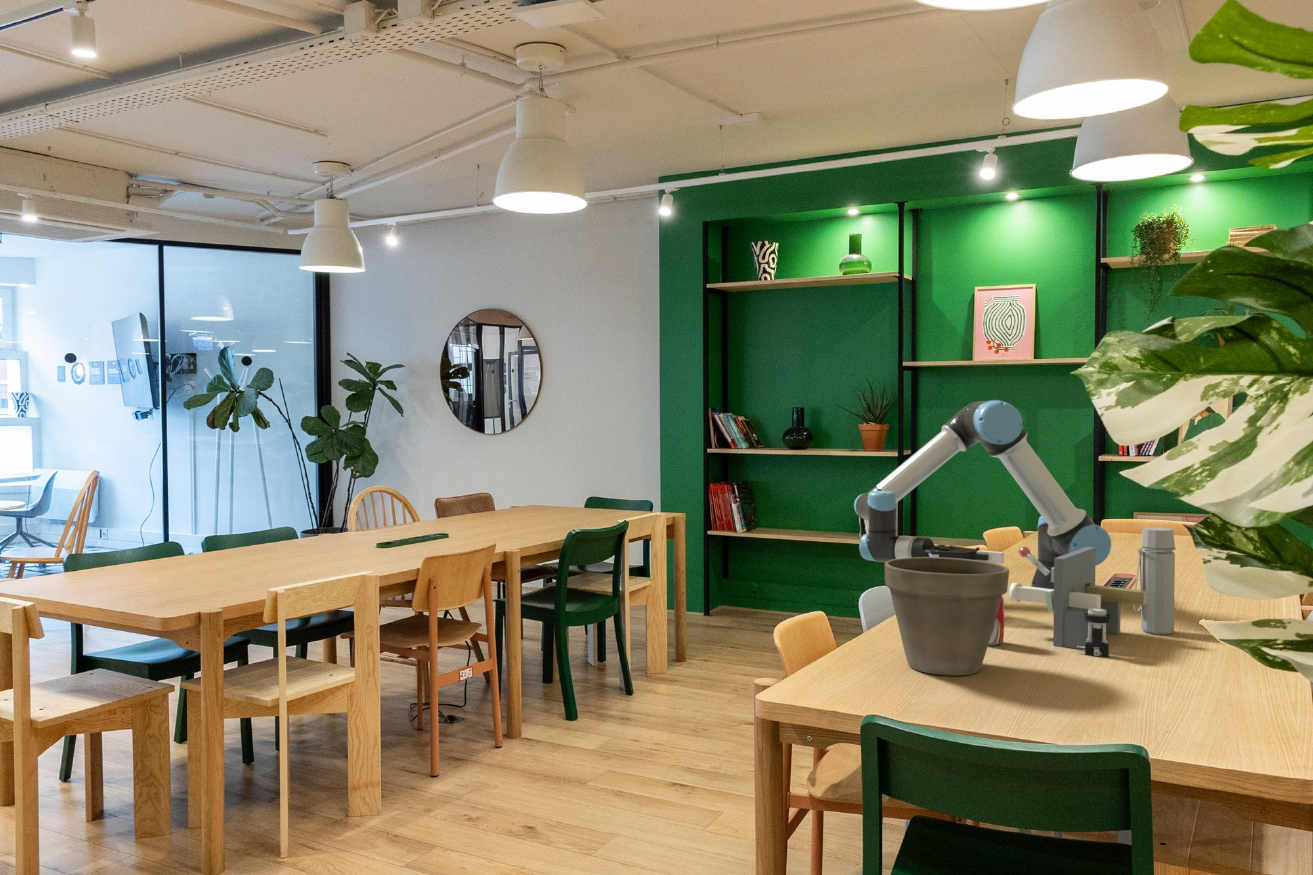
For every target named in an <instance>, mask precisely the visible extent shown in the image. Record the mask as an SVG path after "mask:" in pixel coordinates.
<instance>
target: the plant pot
mask: <svg viewBox="0 0 1313 875" xmlns="http://www.w3.org/2000/svg"><path fill="white" fill-rule="evenodd" d="M1009 577H1010V568H1008V567H1006V566H1005V565H1002V564H1000V563H991V562H985V561H978V560H970V559H959V558H942V557H914V558H900V559H893V560H889V561H887V562H884V584H885V586H886V587H887V588H889V590H890V596H891V600H892V605H893V608H894V613H895V616H896V622H897V625H898V630H899V634H900V638H901V642H902V646H903V650H904V655H905V659H906V663H907V664H908V666H909V667H910V668H912V669H914V670H916V671H918V672H921V673H927V674H931V675H939V676H953V677H955V676H956V677H957V676H958V677H959V676H961V677H962V676H969V675H975V674H976V673H978V672H979V671H980V670H981V668H982V666H983V662H984V659H985V656H986V652H987V650H988V644H989V640H990V637H991V634H992V630H993V627H994V624H995V620H996V617H997V613H998V610H999V606H1000V602H1001V598H1002V597H1003V595H1005V594H1007V592H1008V587H1009Z"/></svg>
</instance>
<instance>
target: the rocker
mask: <svg viewBox="0 0 1313 875" xmlns="http://www.w3.org/2000/svg"><path fill="white" fill-rule="evenodd" d="M1045 596H1046V602H1047V604H1046V607H1047V612H1054V590H1052V591H1047V592H1045Z"/></svg>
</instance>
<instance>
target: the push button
mask: <svg viewBox="0 0 1313 875" xmlns="http://www.w3.org/2000/svg"><path fill="white" fill-rule="evenodd" d="M1084 615H1085V620H1086V621H1088V639H1087V641H1086V642H1085V647H1083V646H1077V647H1080V648H1085V650H1082V649H1077V650H1076V651H1077V652H1080V653H1084V654H1085V655H1086V656H1091V657H1092V656H1095V657H1104V658H1109V656H1110V655H1109V652H1110V650H1109V646H1110V645H1109V643H1108V640H1107V632H1106V623H1108V622H1109V618H1110V617H1111V615H1110V614H1107V613H1106V610H1105V609H1100V608H1089V609H1088V612H1085V613H1084ZM1091 624H1093V627H1092V642H1089V641H1091ZM1101 625H1103V632H1102V628H1101Z"/></svg>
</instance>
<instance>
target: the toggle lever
mask: <svg viewBox="0 0 1313 875" xmlns="http://www.w3.org/2000/svg"><path fill="white" fill-rule="evenodd" d="M1018 552H1019V555H1020V556H1021V557H1023V558H1026V559H1027V560H1028V561H1029V562H1031V564H1032V565H1033V566H1035V567H1036V569H1037V568H1038V569H1039V570H1040V571H1041V572H1042V573H1043V574H1044V575H1046V576H1047V575H1048V574H1049V573H1050V571H1049V570H1048V569H1047V568H1046V567H1045V566H1044V565H1043V564H1042V563H1041V562H1039V561H1038V558H1036V557H1035V555H1033V554H1032V553H1031V550H1030V548H1029V547H1027V546H1022V547H1020V548H1019V551H1018Z"/></svg>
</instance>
